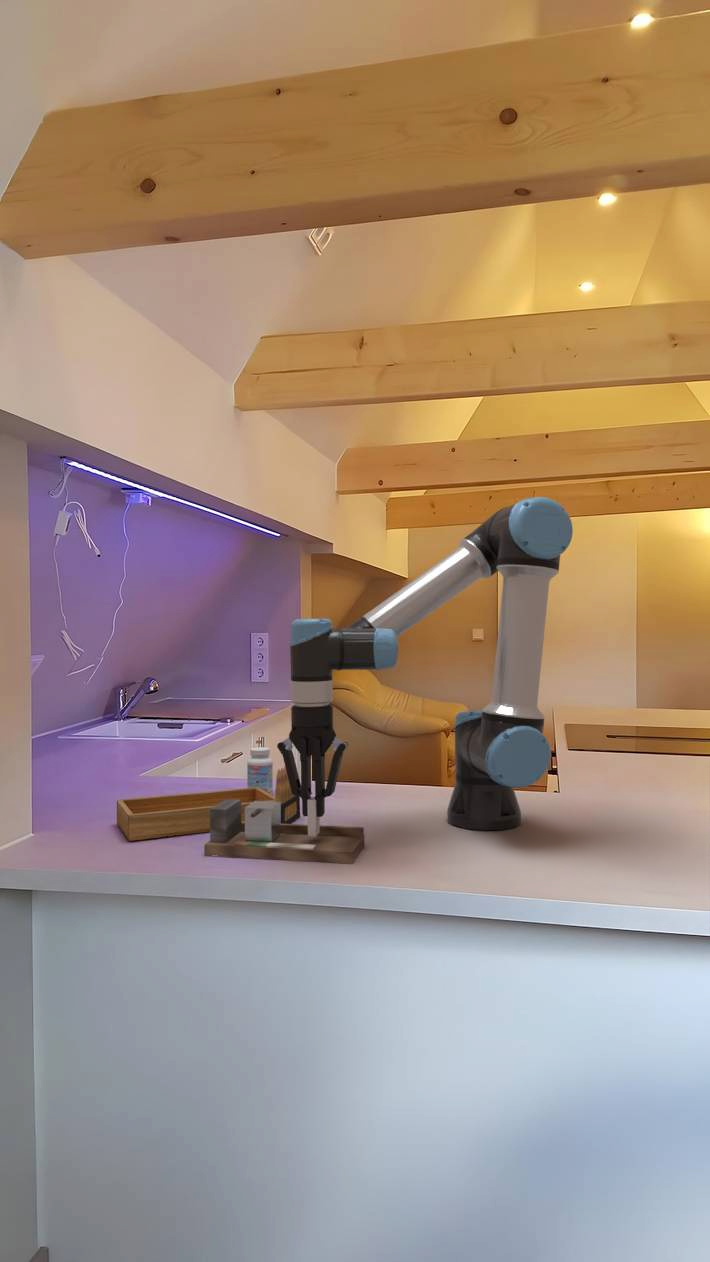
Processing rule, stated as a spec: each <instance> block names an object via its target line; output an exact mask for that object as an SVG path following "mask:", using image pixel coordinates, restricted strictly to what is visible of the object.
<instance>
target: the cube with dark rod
mask: <svg viewBox="0 0 710 1262" xmlns="http://www.w3.org/2000/svg"><path fill="white" fill-rule="evenodd" d="M280 834H281V802H273V801H254V802H252V803H251V804H249V805H248V806H247V807H245V841H256V842H272V841H274V840H275V839H276V838H277V837H278V836H279V835H280Z"/></svg>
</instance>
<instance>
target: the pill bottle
mask: <svg viewBox="0 0 710 1262" xmlns="http://www.w3.org/2000/svg"><path fill="white" fill-rule="evenodd" d="M270 749H271V748H269V747H262V746H258V747H252V748H250V749H249V750H250V751H249V752H250V753H249V754H250V756H251V757H250V758H248V760H247V773H246V774H247V777H246V778H247V787H246V788H254V787H258V788H260V789H262V790H264V791H266V792H267V793H269V794H271V795H272V794H273V772H274V771H273V759H272V758H271V757H269V756H270V754H271V753H270V751H271V750H270Z"/></svg>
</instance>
